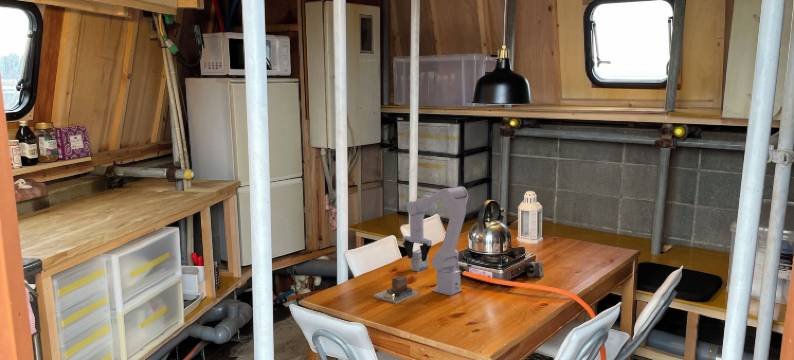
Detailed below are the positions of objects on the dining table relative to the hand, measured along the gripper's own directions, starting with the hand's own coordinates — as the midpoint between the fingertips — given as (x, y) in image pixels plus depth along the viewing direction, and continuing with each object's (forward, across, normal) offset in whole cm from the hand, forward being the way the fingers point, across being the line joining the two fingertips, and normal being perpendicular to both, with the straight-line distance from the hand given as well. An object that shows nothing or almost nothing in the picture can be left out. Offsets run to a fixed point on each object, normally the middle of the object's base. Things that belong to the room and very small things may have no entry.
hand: (417, 259), depth 264 cm
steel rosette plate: (+9, +6, -21) cm, 24 cm away
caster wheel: (+10, +35, +38) cm, 52 cm away
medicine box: (+10, -10, +14) cm, 20 cm away
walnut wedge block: (+8, +6, -19) cm, 22 cm away
